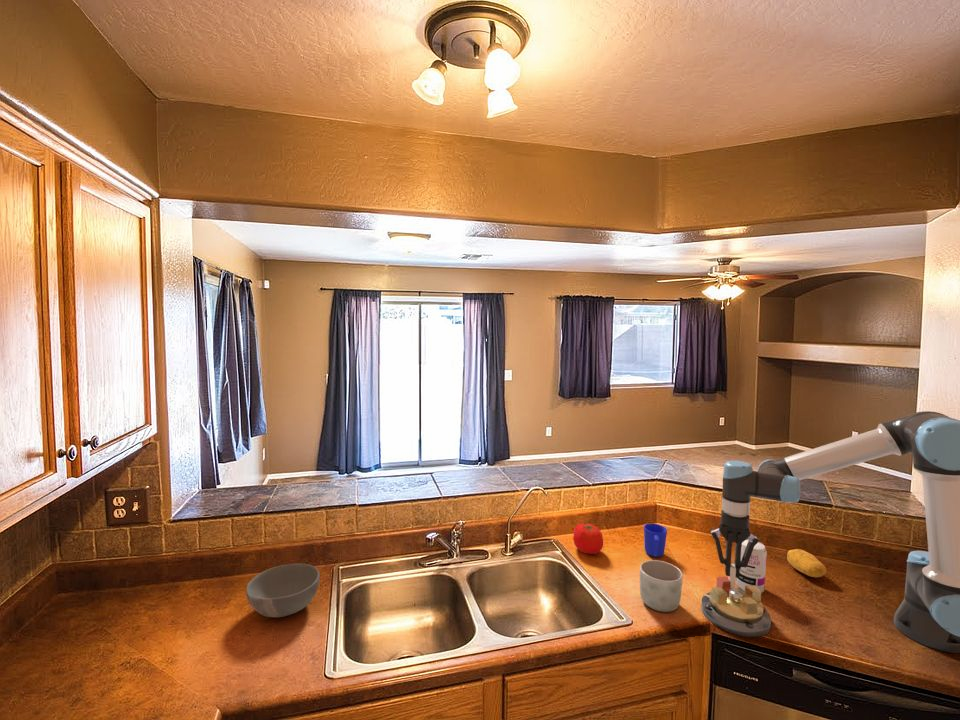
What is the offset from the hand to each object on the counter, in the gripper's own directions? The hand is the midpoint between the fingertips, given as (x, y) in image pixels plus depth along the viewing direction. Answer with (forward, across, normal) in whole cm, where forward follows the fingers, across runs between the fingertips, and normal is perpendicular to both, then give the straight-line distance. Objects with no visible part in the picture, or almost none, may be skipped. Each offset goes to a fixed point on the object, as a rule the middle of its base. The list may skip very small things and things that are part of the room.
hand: (731, 586), depth 141 cm
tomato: (+6, +46, -18) cm, 50 cm away
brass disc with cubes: (+4, 0, +5) cm, 7 cm away
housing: (+6, 0, +5) cm, 8 cm away
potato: (+7, -28, -31) cm, 42 cm away
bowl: (+6, +126, +52) cm, 137 cm away
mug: (+7, +22, -24) cm, 33 cm away
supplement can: (+7, -8, -13) cm, 17 cm away
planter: (+7, +21, +7) cm, 23 cm away
